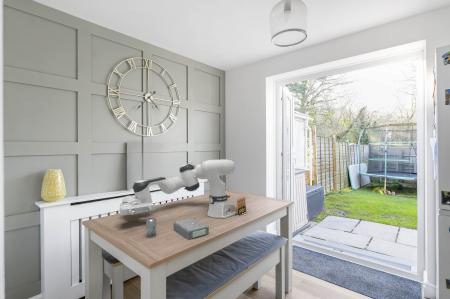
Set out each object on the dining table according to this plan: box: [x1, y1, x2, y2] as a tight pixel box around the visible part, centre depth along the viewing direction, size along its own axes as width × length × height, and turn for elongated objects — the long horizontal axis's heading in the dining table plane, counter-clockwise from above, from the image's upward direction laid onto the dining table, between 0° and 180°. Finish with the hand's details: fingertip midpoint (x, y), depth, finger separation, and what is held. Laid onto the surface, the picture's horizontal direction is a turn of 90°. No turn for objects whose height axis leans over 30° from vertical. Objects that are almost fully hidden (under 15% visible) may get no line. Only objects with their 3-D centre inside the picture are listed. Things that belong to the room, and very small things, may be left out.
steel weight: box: [145, 217, 157, 239], centre depth 127 cm, size 5×5×9 cm
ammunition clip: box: [235, 196, 247, 216], centre depth 168 cm, size 11×2×12 cm, turn 143°
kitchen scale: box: [172, 217, 210, 240], centre depth 133 cm, size 13×18×5 cm
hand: (142, 211), depth 136 cm, fingers open, 8 cm apart
